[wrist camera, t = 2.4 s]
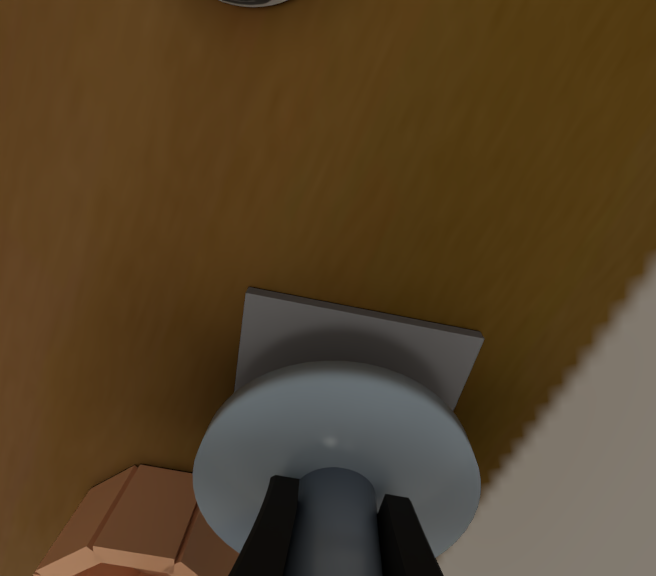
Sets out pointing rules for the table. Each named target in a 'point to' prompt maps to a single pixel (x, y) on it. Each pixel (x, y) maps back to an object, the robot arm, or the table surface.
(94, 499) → the bowl
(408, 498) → the robot arm
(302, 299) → the mat
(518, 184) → the table surface
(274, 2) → the supplement bottle
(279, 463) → the lid
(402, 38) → the table surface
